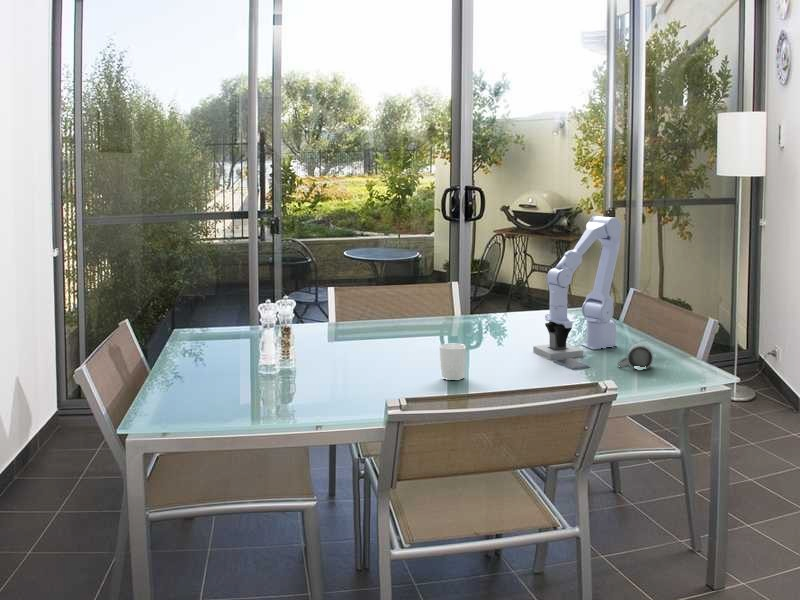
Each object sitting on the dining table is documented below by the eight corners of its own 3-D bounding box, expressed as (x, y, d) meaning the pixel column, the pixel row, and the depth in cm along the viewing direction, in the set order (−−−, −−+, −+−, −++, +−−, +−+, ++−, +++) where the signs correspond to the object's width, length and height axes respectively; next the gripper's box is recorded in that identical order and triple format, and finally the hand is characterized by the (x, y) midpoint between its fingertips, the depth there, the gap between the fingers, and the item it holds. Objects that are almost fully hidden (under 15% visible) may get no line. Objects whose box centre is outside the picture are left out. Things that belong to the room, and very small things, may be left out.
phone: (569, 361, 301) (569, 357, 301) (589, 369, 292) (589, 365, 291) (553, 363, 299) (553, 359, 299) (573, 371, 289) (573, 367, 289)
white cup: (438, 375, 286) (438, 343, 284) (464, 374, 287) (463, 342, 285) (441, 382, 278) (441, 349, 277) (468, 381, 279) (467, 348, 277)
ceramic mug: (652, 364, 293) (652, 340, 292) (652, 371, 285) (653, 346, 284) (617, 363, 296) (617, 340, 294) (617, 370, 288) (617, 346, 287)
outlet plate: (565, 348, 317) (565, 342, 316) (583, 356, 306) (583, 350, 305) (533, 351, 313) (533, 346, 313) (550, 360, 302) (550, 353, 301)
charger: (560, 348, 311) (560, 330, 310) (566, 351, 308) (566, 333, 307) (549, 349, 310) (549, 331, 309) (555, 352, 306) (555, 334, 305)
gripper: (537, 302, 312) (537, 342, 314) (558, 309, 298) (557, 351, 301) (556, 300, 314) (555, 340, 316) (577, 307, 300) (577, 349, 303)
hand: (558, 345), depth 309 cm, fingers closed on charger, 4 cm apart
